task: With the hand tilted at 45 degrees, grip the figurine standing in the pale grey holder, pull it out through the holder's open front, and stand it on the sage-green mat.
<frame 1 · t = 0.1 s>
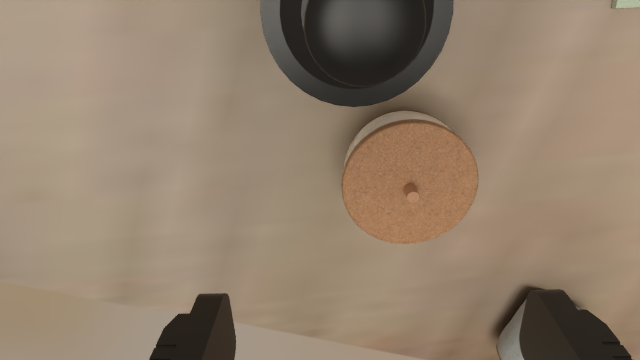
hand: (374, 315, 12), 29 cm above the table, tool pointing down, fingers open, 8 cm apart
lidded jar: (396, 151, 41), on the table
ceramic mug: (540, 316, 49), on the table
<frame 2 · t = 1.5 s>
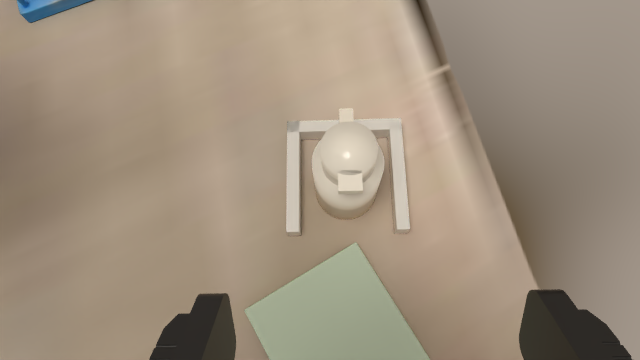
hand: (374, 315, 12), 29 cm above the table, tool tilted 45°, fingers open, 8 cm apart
holder: (345, 190, 43), on the table
figurine: (346, 164, 38), in the holder
mat: (335, 334, 39), on the table
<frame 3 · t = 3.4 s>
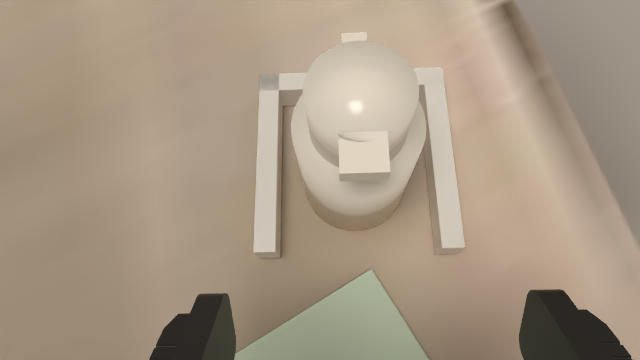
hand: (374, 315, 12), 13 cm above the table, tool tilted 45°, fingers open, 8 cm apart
holder: (353, 183, 27), on the table
figurine: (355, 134, 22), in the holder
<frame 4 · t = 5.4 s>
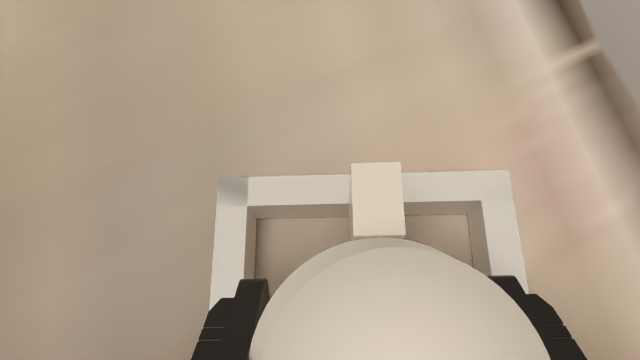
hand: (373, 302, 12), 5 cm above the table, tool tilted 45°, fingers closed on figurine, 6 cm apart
holder: (366, 357, 17), on the table
figurine: (376, 340, 12), in the holder, touching gripper
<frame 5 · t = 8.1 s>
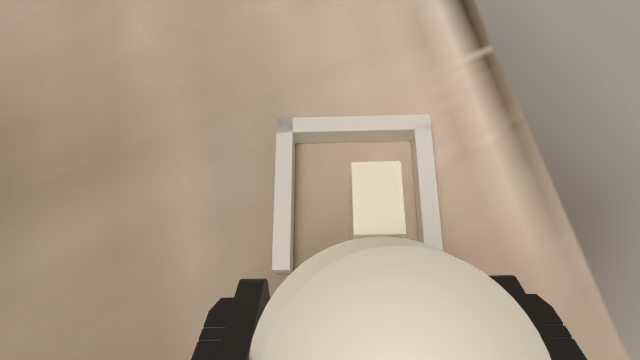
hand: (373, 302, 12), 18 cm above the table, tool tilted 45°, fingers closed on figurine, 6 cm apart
holder: (354, 211, 32), on the table
figurine: (376, 339, 12), point 18 cm above the table, touching gripper
when the fingers open (6 cm above the table, at t = 11.1 s): figurine stays where it is, resting on mat.
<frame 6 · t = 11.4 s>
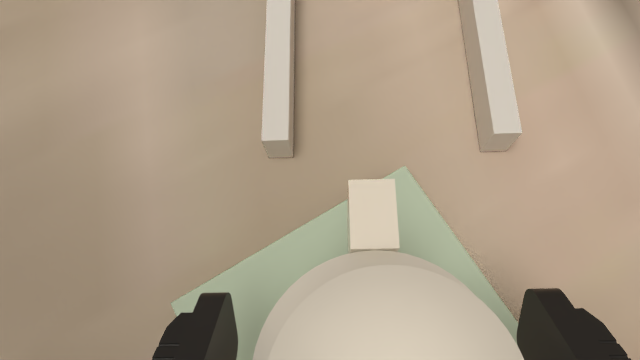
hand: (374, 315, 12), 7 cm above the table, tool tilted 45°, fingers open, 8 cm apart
holder: (380, 74, 22), on the table
figurine: (372, 346, 12), on the mat, point 6 cm above the table
mat: (364, 356, 18), on the table
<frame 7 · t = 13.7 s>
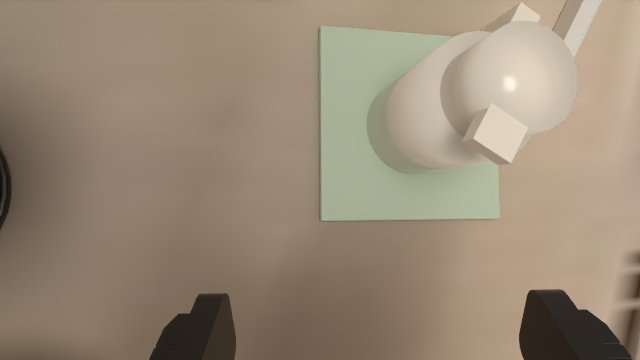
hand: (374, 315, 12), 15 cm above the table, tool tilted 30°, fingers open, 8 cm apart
figurine: (462, 96, 22), on the mat, point 6 cm above the table
mat: (409, 126, 28), on the table
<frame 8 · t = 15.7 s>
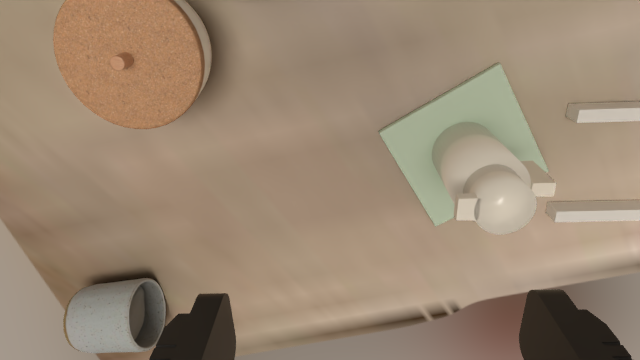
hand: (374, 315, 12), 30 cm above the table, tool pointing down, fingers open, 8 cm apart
holder: (603, 159, 42), on the table
figurine: (490, 176, 36), on the mat, point 6 cm above the table
mat: (463, 150, 42), on the table
lidded jar: (166, 43, 38), on the table
ceramic mug: (137, 301, 51), on the table
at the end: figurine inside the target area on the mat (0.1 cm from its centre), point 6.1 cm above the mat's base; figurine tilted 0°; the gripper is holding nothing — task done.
